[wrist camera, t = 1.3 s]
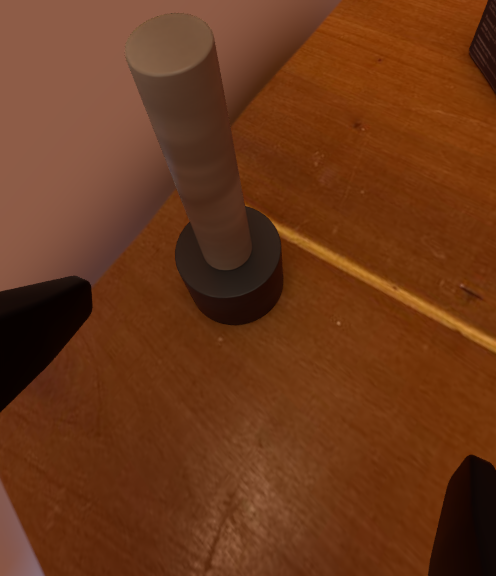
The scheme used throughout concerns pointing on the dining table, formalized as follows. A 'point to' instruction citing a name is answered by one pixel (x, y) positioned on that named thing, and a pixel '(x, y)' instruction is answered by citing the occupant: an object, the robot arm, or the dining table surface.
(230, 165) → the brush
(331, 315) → the dining table surface
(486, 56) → the box
